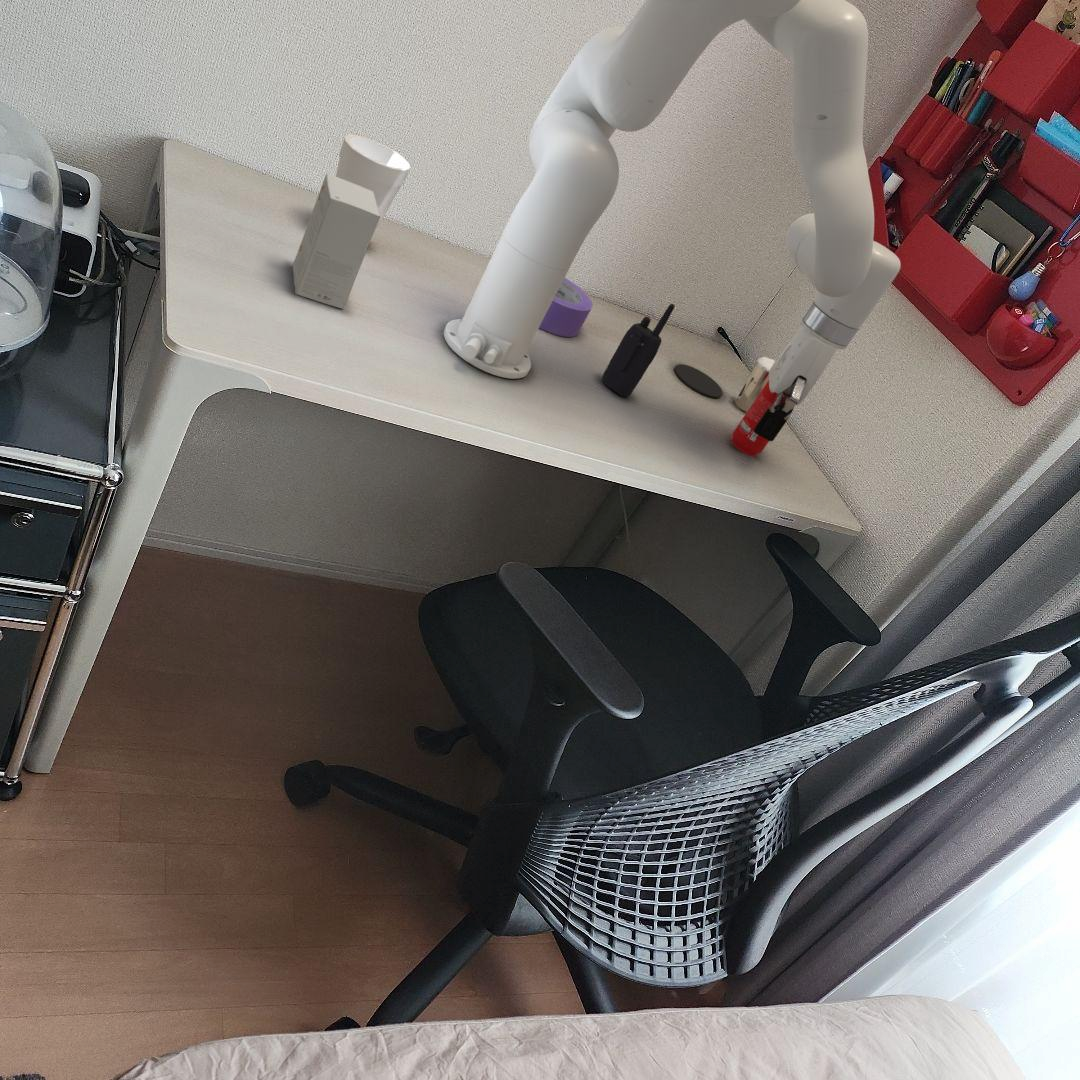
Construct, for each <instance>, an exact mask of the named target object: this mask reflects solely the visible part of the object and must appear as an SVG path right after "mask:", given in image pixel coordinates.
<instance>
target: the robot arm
mask: <svg viewBox="0 0 1080 1080" xmlns="http://www.w3.org/2000/svg"><path fill="white" fill-rule="evenodd" d="M743 20H744V21H745V22H746V23H747V24H748V25H749V26H750V27H751V28H752V29H753V30H754V31H755V32H756V33H757V34H758V35H759V36H760V37H761V38H762V39H764V40H765V41H766V42H767V43H768V44H769V45H770V46H772V48H774V49H775V50H776V51H777V52H778V53H779V54H780V55H782V57H784V58H785V59H787V60H788V61H789V62H790V63H791V65H792V77H791V78H792V79H791V81H792V83H791V85H792V89H791V90H792V91H791V104H792V105H791V132H790V133H791V134H790V135H791V136H790V138H791V139H790V140H791V149H792V153H793V157H794V161H795V162H796V163H795V164H796V167H797V169H798V171H799V173H800V175H801V178H802V179H803V182H804V184H805V186H806V189H807V191H808V194H809V198H810V201H811V205H812V210H813V212H812V213H807V214H803V215H801V216H799V217H798V218H796V219H795V220H794V221H793V222H792V223H791V224H790V226H789V227H788V229H787V230H786V231H787V232H786V235H785V239H784V242H785V243H784V244H785V250H786V253H787V255H788V257H789V259H790V260H791V262H792V263H793V264H794V266H796V268H797V269H798V270H799V271H800V273H801V274H803V276H805V278H806V279H807V280H808V282H809V283H810V284H811V285H812V286H813V288H815V290H816V291H818V292H817V294H816V295H815V297H814V298H813V300H812V301H811V302H810V305H809V306H808V308H807V309H806V310H805V312H804V314H803V315H802V317H801V318H800V320H799V323H800V325H801V326H800V327H799V329H797V331H796V332H795V333H794V335H793V336H792V337H791V339H790V340H789V342H788V343H787V345H786V346H785V347H784V349H783V350H782V352H781V353H780V354H779V355H778V357H777V358H776V359H775V363H774V364H773V366H772V367H771V369H770V371H769V379H770V380H769V388H770V391H771V392H772V393H774V392H776V393H777V396H776V398H775V400H774V402H773V404H772V406H771V409H767V410H766V412H765V413H764V415H763V416H762V418H761V419H760V421H759V422H758V424H757V425H756V427H755V428H754V433H756V434H758V435H759V436H761V437H763V438H765V439H767V440H769V442H774V440H775V439H776V438H777V436H778V435H779V433H780V432H781V430H782V429H783V427H784V426H785V425H786V423H787V421H788V420H789V418H790V417H791V415H792V414H793V412H794V409H795V407H796V406H799V405H801V404H802V403H803V401H804V400H805V399H806V398H807V396H808V395H809V393H810V392H811V391H812V389H813V388H814V386H815V385H816V383H817V382H818V380H819V379H820V377H821V376H822V374H823V373H824V371H825V370H826V368H827V366H828V365H829V363H830V362H831V361H832V359H833V357H834V355H835V354H836V352H837V350H846V349H847V348H848V346H849V344H850V343H852V340H853V339H854V337H855V336H856V334H857V333H858V331H859V330H860V328H861V327H862V326H863V324H864V323H865V321H866V320H867V319H868V317H869V316H870V314H871V313H872V311H873V310H874V309H875V307H876V305H877V304H878V303H879V301H880V300H881V298H882V297H883V295H884V294H885V293H886V292H887V290H888V288H889V287H890V286H891V284H892V283H893V281H894V280H895V279H896V277H897V275H898V274H899V273H900V270H901V266H902V265H901V264H902V263H901V260H900V258H899V257H898V256H897V254H895V253H894V252H893V251H892V250H890V249H889V248H888V247H886V246H884V245H883V244H881V243H879V242H878V241H875V240H874V236H875V206H874V198H873V192H872V185H871V182H870V175H869V169H868V162H867V157H866V152H865V148H864V119H865V118H864V117H865V102H866V101H865V99H866V84H867V72H868V71H867V68H868V56H869V55H868V53H869V52H868V51H869V28H868V23H867V21H866V18H865V16H864V15H863V13H862V11H860V10H859V8H857V7H856V6H855V5H854V4H852V3H851V2H849V1H847V0H645V2H643V4H642V5H641V6H640V8H639V10H638V11H637V12H636V13H635V14H634V16H633V18H632V19H631V21H630V22H629V24H628V25H627V26H623V25H616V26H609V27H607V28H604V29H602V30H600V31H598V32H597V33H595V34H594V35H592V37H591V38H589V39H588V41H586V42H585V44H584V45H583V46H582V47H581V48H580V49H579V51H578V52H577V53H576V55H575V56H574V58H573V60H572V61H571V62H570V64H569V66H568V67H567V69H566V70H565V72H564V73H563V75H562V76H561V78H560V80H559V81H558V83H557V85H556V86H555V88H554V89H553V91H552V92H551V94H550V95H549V97H548V99H547V100H546V102H544V105H543V106H542V108H541V110H540V111H539V113H538V115H537V117H536V118H535V120H534V122H533V125H532V126H531V130H530V133H529V138H528V153H529V157H530V160H531V163H532V166H533V167H534V170H535V174H534V175H533V179H532V180H531V182H530V184H529V186H527V188H526V190H525V191H524V193H523V194H522V196H521V197H520V198H519V200H518V202H517V203H516V206H515V207H514V208H513V211H512V213H511V215H510V216H509V218H508V220H507V223H506V224H505V226H504V229H503V231H502V234H501V235H500V238H499V240H498V242H497V245H496V247H495V249H494V251H493V253H492V255H491V258H490V259H489V262H488V264H487V266H486V268H485V270H484V272H483V274H482V277H481V279H480V281H479V283H478V285H477V287H476V290H475V292H474V294H473V295H472V298H471V300H470V302H469V304H468V305H467V309H466V311H465V313H464V315H463V317H462V318H456V319H452V320H449V321H448V323H446V325H445V328H444V329H443V338H444V340H445V342H446V343H447V345H448V346H449V348H450V349H451V350H452V351H453V352H454V353H455V354H456V355H458V356H459V357H460V358H461V359H462V360H464V361H465V362H467V364H470V365H471V366H473V367H474V368H477V369H479V370H481V371H483V372H485V373H488V374H490V375H493V376H496V377H499V378H503V379H511V380H512V379H513V380H515V379H517V380H518V379H522V378H525V377H526V376H528V374H529V372H530V371H531V368H532V361H531V358H530V356H529V355H528V353H527V351H528V349H529V347H530V345H531V344H532V342H533V339H535V336H536V334H537V332H538V330H539V329H540V328H539V326H540V324H541V322H542V320H543V318H544V317H545V315H546V313H547V311H548V309H549V307H550V305H551V303H552V301H553V299H554V297H555V295H556V293H557V292H558V290H559V288H560V286H561V284H562V282H563V280H564V278H566V276H567V275H568V272H569V271H570V269H571V266H572V264H573V262H574V260H575V258H576V256H577V255H578V252H579V251H580V249H581V247H582V245H583V244H584V242H585V240H586V238H587V237H588V235H589V234H590V232H591V230H592V229H593V227H594V226H595V225H596V223H597V222H598V221H599V219H600V218H601V216H602V215H603V214H604V212H605V211H606V209H608V206H609V205H610V203H611V201H612V200H613V199H614V196H615V193H616V190H617V187H618V183H619V178H620V166H619V165H620V164H619V160H618V156H617V153H616V151H615V148H614V146H613V144H612V143H611V141H610V138H611V137H612V135H613V134H614V133H615V132H616V131H617V130H618V131H622V132H626V133H632V132H638V131H642V130H643V129H645V128H647V127H649V126H650V125H651V124H652V123H653V122H654V121H655V120H656V118H657V117H658V116H659V115H660V114H661V113H662V111H663V110H664V108H665V107H666V105H667V104H668V102H669V101H670V99H671V98H672V96H673V95H674V94H675V92H676V91H677V89H678V88H679V86H680V84H681V83H682V82H683V80H684V79H685V78H686V76H687V75H688V73H689V72H690V70H691V69H692V67H693V66H694V65H695V64H696V62H697V60H698V59H699V58H700V56H702V54H703V53H704V51H705V50H706V49H707V47H709V45H710V44H711V43H712V42H713V40H714V39H715V38H716V37H718V35H719V34H720V33H722V32H723V31H724V30H726V29H727V28H728V27H731V26H733V24H736V23H738V22H741V21H743ZM793 382H794V383H793ZM792 383H793V384H792ZM783 392H785V393H787V394H789V396H788V395H786V394H785V393H783ZM780 400H783V402H782V403H780V404H779V402H780ZM784 401H785V402H784ZM778 404H779V405H778Z"/></svg>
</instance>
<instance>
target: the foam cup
mask: <svg viewBox="0 0 1080 1080" xmlns="http://www.w3.org/2000/svg"><path fill="white" fill-rule="evenodd" d="M338 156H339V158H338V159H339V160H338V164H337V169H336V173H335V176H336V177H338V178H341V179H343V180H346V181H348V182H351V183H353V184H356V185H358V186H361V187H363V188H366V189H368V190H371V191H373V192H374V195H375V199H376V203H377V207H378V210H379V214H380V219H379V221H378V223H377V226H376V228H375V231H374V233H373V236H374V234H375V233H376V231H377V230H378V228H379V226H380V224H381V222H382V221H383V219H384V217H385V215H386V213H387V211H388V210H389V208H390V206H391V204H392V203H393V201H394V200H395V197H396V196H397V194H398V192H399V191H400V189H401V187H402V186H403V185H405V182H406V180H407V177H408V175H409V172H410V170H411V166H410V163H409V162H408V160H406V158H405V157H404V156H403V155H401V154H400V153H398V152H397V151H395V150H394V149H392V148H391V147H389V146H387V145H385V144H383V143H381V142H379V141H377V140H374V139H372V138H369V137H367V136H364V135H357V134H353V133H352V134H348V135H345V136H344V139H343V142H342V145H341V147H340V150H339V155H338Z"/></svg>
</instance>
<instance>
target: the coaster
mask: <svg viewBox="0 0 1080 1080" xmlns="http://www.w3.org/2000/svg"><path fill="white" fill-rule="evenodd" d="M673 372H674V374H675V376H676V377H677V378H678V379H679V380H680V382H682V383H683V384H684V385H685V386H687V387H688V388H689V389H691V390H692V391H694V392H696V393H698V394H699V395H702V396H704V397H707V398H711V399H714V400H715V399H720V398H722V396H723V395H724V393H723V390H722V388H721V386H720V385H719V384H718V383H717V382H716V381H715V380H714V379H713V378H712V377H710V376H709V375H707V374H706V373H705V372H703V371H701V370H700V369H698V368H695V367H694V366H691V365H687V364H682V363H678V364H676V365H675V366H674V368H673Z"/></svg>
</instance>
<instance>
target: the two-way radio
mask: <svg viewBox="0 0 1080 1080" xmlns="http://www.w3.org/2000/svg"><path fill="white" fill-rule="evenodd" d="M675 307H676V305H675V304H674V303H669V305H668V306H667V308H666V310H665V311H664V312H663V314H662V316H661V317H660V319H659V321H658V322H657V324H656V325H655V327H654V328H653V330H652V329H651V328H649V325H650V323H651V318H650V317H649V316H644V317H643V318H642V320H641V321H640V322H638V323H633V324H632V325H631V326H630V327H629V328H628V330H626V332H625V334H624V336H623V337H622V339H621V341H620V342H619V344H618V346H617V348H616V350H615V351H614V354H612V357H611V359H609V360H610V361H609V362H608V365H607V366H606V369H605V370H604V372H603V373H602V377H601V380H602V381H603V383H604V384H605V385H606V386H607V387H609V388H610V389H611V390H612V391H614V392H615V393H617V394H618V395H619V396H621V397H630V396H631V395H632V394H633V392H634V390H635V389H636V387H637V386H638V385H639V383H640V381H641V380H642V378H643V377H644V375H645V374H646V372H647V370H648V368H649V367H650V365H651V364H652V363H653V361H654V359H655V357H656V355H657V353H658V352H659V349H660V346H661V345H662V338H661V336H660V334H661V333H662V331H663V329H664V327H665V326H666V324H667V322H668V320H669V319H670V316H671V315H672V313H673V311H674V309H675Z"/></svg>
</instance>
